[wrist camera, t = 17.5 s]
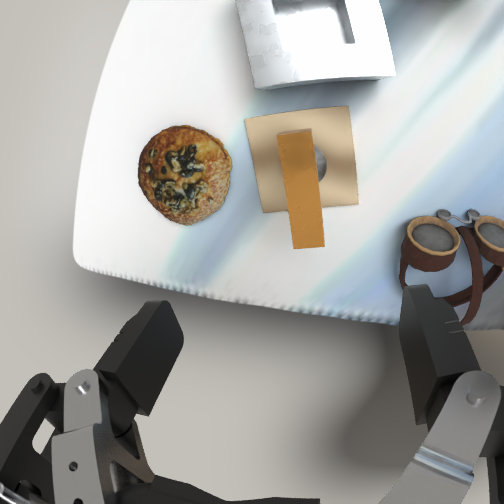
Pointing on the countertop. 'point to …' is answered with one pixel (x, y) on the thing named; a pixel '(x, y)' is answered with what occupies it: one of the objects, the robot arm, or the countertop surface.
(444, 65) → the countertop surface
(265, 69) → the block
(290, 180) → the bar
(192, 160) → the bread roll
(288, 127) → the cork coaster
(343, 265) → the countertop surface
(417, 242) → the goggles
